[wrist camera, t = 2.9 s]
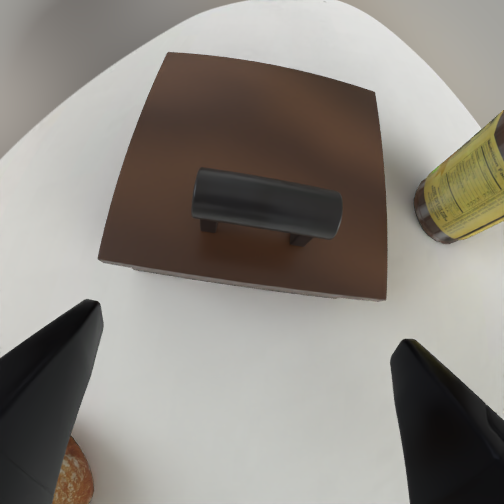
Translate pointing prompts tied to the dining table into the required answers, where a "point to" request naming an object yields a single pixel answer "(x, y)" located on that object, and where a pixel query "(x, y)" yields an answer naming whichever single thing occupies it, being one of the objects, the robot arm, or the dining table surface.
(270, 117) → the hatch
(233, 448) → the dining table surface
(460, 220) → the sauce bottle
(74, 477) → the bread roll
